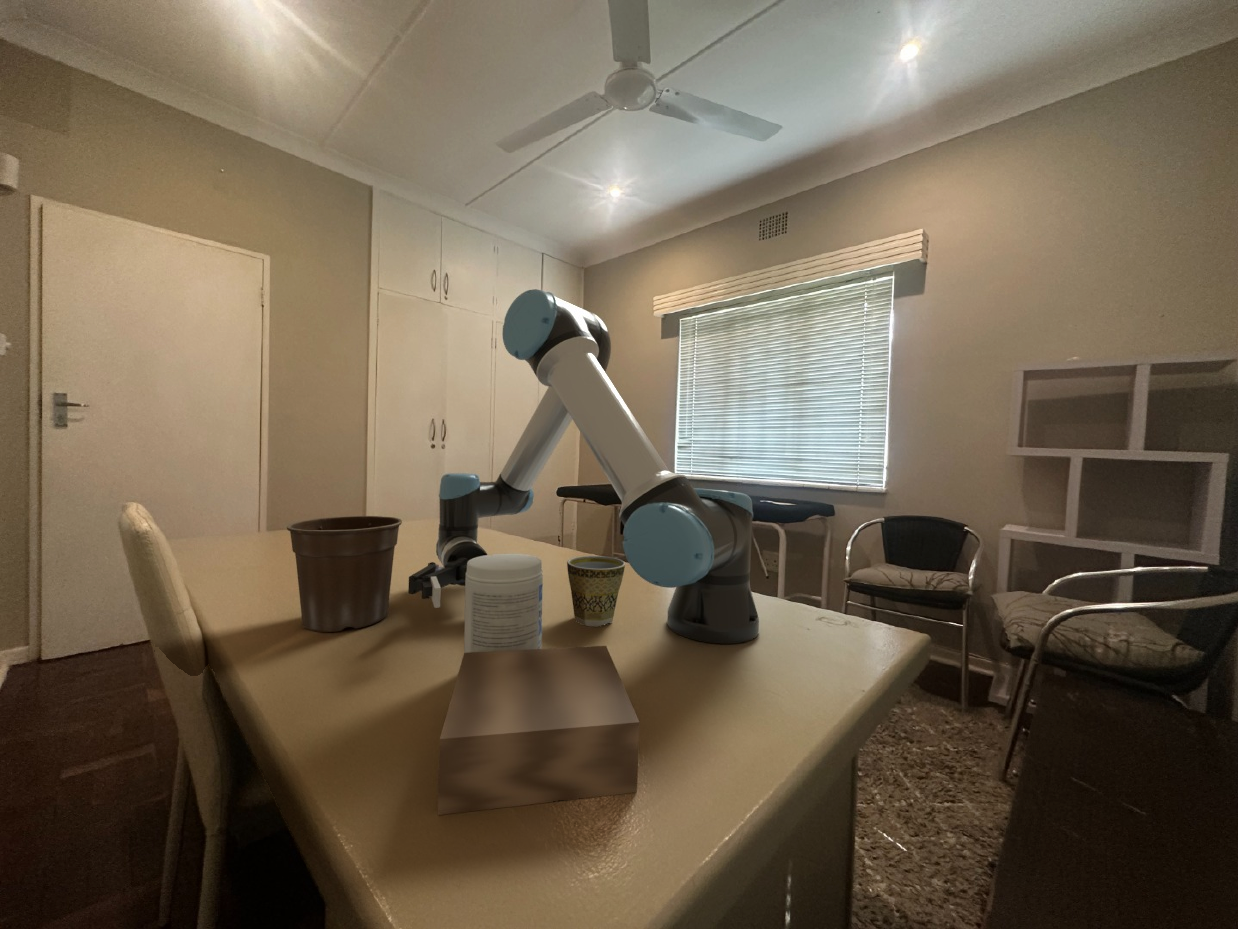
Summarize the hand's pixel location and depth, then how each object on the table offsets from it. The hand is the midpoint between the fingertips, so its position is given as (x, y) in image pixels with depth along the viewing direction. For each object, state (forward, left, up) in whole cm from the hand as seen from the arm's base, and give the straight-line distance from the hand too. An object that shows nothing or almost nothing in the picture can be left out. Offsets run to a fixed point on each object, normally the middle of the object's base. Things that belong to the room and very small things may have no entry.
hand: (487, 593), depth 68 cm
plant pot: (+23, -14, -8) cm, 29 cm away
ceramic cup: (-18, -11, -8) cm, 22 cm away
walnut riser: (-7, +24, -8) cm, 26 cm away
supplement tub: (-3, +9, -8) cm, 12 cm away
